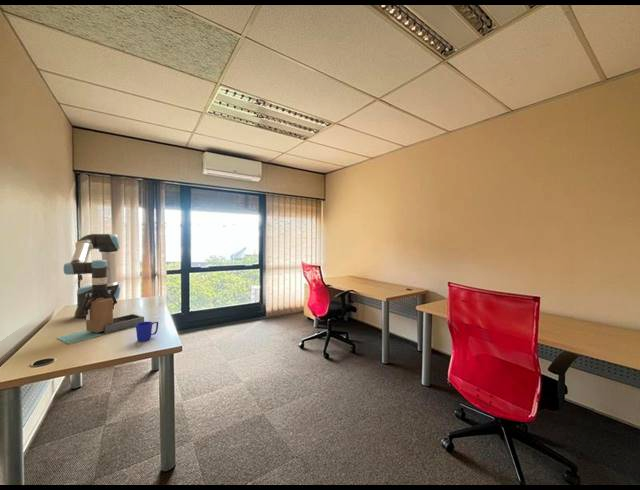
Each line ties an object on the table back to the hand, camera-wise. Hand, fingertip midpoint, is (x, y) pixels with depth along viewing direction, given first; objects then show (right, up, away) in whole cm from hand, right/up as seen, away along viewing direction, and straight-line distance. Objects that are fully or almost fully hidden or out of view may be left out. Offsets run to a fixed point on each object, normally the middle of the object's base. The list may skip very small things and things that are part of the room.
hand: (99, 317), depth 169 cm
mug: (+38, -10, -11) cm, 41 cm away
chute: (+5, -9, +10) cm, 14 cm away
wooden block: (0, -8, 0) cm, 8 cm away
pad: (-5, -10, -9) cm, 14 cm away
